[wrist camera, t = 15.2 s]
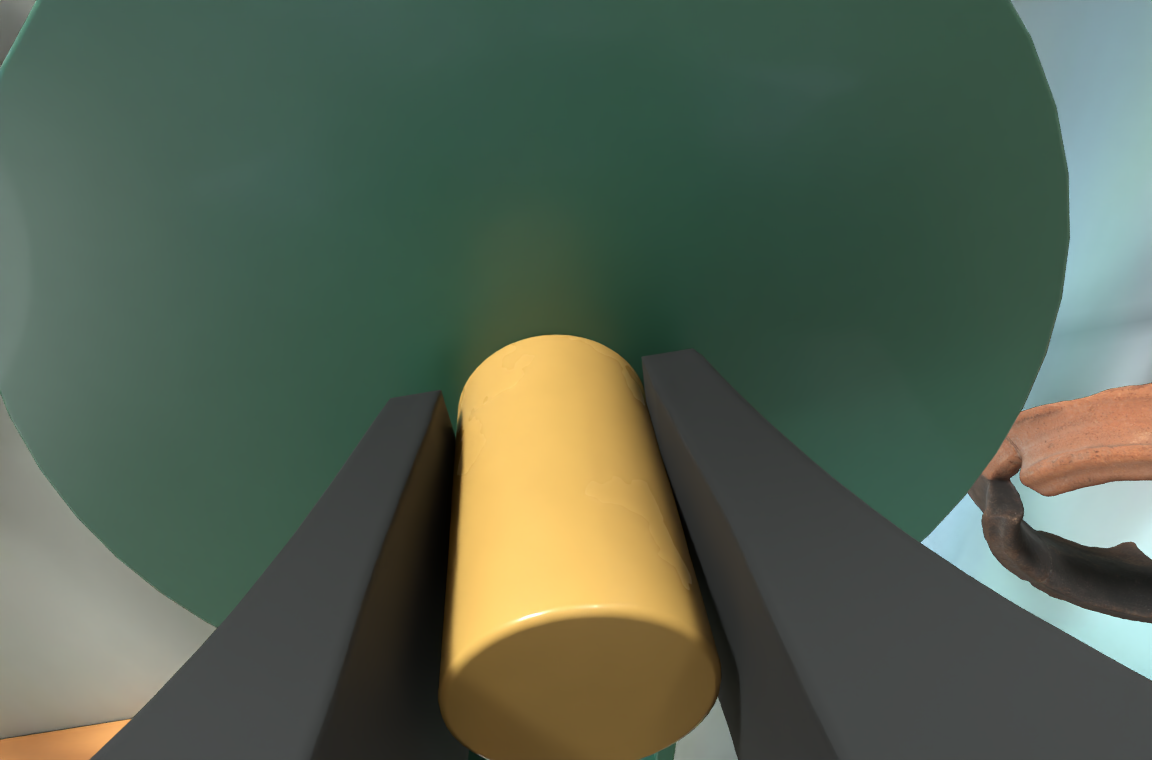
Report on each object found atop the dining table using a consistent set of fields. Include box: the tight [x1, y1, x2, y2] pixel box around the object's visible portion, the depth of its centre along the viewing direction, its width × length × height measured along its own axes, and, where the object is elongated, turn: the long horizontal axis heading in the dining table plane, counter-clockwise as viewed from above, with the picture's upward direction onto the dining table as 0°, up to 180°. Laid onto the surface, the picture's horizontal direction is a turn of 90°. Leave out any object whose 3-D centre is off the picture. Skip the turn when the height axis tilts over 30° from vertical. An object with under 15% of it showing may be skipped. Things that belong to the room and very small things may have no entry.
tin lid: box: [0, 0, 1070, 760], centre depth 8 cm, size 13×13×5 cm
